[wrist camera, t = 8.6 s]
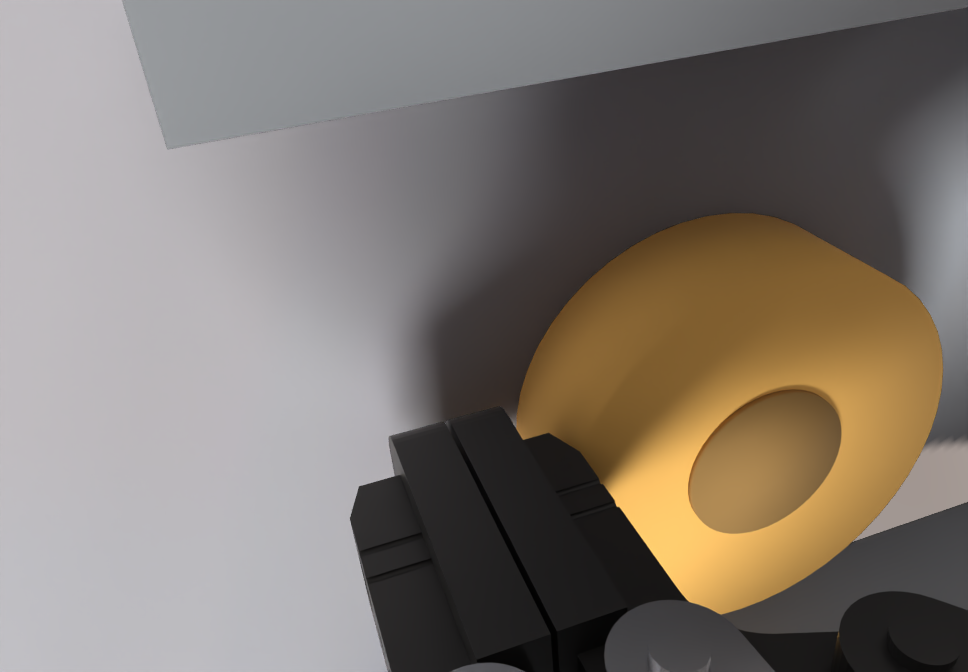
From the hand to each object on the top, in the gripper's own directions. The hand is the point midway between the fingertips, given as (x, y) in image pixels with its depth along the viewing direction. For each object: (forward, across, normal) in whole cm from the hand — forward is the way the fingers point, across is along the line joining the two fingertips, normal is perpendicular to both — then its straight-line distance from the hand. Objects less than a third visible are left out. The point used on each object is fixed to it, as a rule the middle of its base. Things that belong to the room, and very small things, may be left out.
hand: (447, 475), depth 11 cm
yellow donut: (+1, -4, +1) cm, 5 cm away
